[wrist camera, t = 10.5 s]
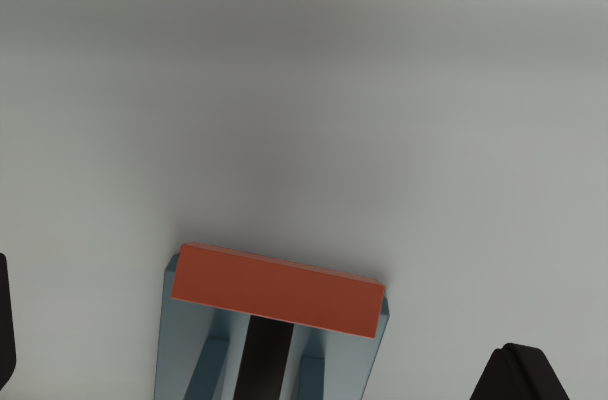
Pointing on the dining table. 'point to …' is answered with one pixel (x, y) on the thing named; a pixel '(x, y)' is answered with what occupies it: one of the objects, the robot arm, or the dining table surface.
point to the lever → (274, 306)
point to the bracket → (229, 347)
